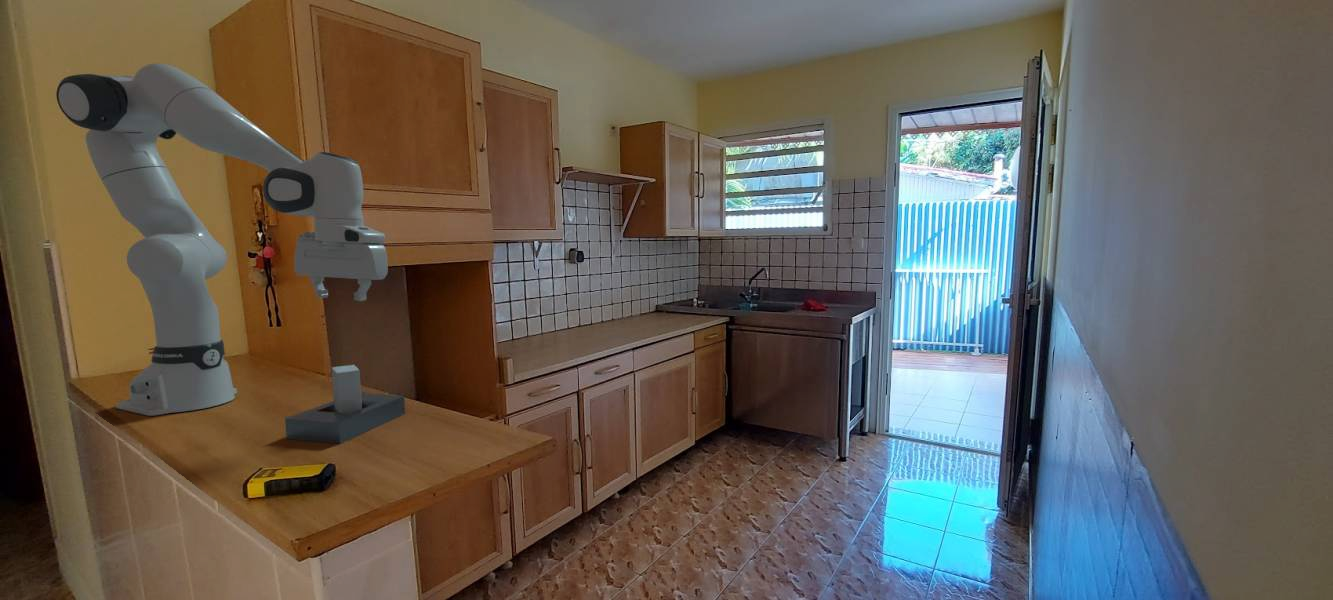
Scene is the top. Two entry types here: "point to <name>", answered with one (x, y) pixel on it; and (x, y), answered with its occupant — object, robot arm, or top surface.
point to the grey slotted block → (344, 419)
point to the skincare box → (346, 389)
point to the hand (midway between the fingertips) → (341, 299)
